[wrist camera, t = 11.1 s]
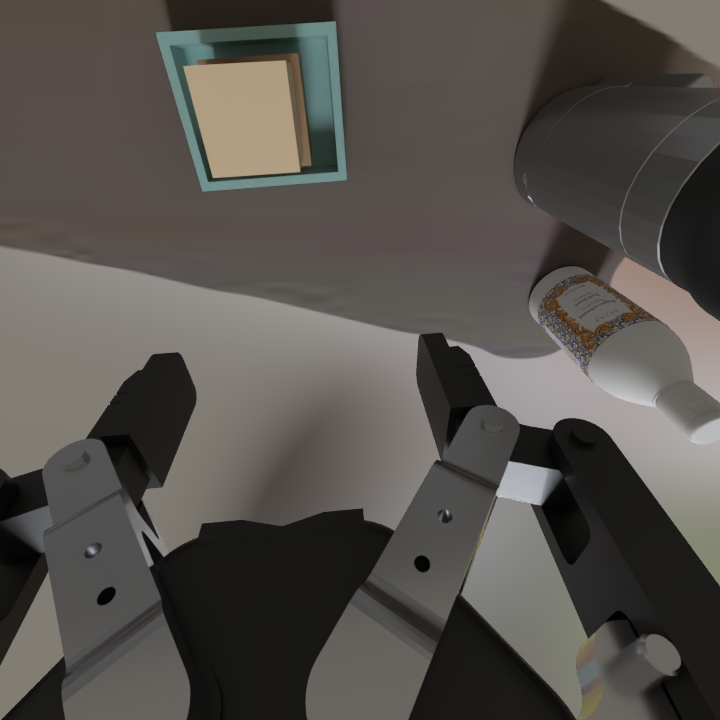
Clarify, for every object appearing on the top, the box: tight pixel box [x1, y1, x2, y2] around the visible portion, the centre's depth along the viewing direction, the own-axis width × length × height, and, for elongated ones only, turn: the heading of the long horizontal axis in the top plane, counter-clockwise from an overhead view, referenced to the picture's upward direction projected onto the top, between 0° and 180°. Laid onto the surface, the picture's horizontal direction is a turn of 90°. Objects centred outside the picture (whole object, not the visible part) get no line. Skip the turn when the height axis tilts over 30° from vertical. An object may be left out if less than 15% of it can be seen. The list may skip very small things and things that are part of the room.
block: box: [196, 53, 312, 166], centre depth 25 cm, size 6×6×5 cm
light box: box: [183, 60, 303, 178], centre depth 21 cm, size 5×5×5 cm
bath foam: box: [529, 266, 720, 444], centre depth 32 cm, size 7×7×20 cm
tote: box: [156, 21, 347, 191], centre depth 26 cm, size 11×9×4 cm
